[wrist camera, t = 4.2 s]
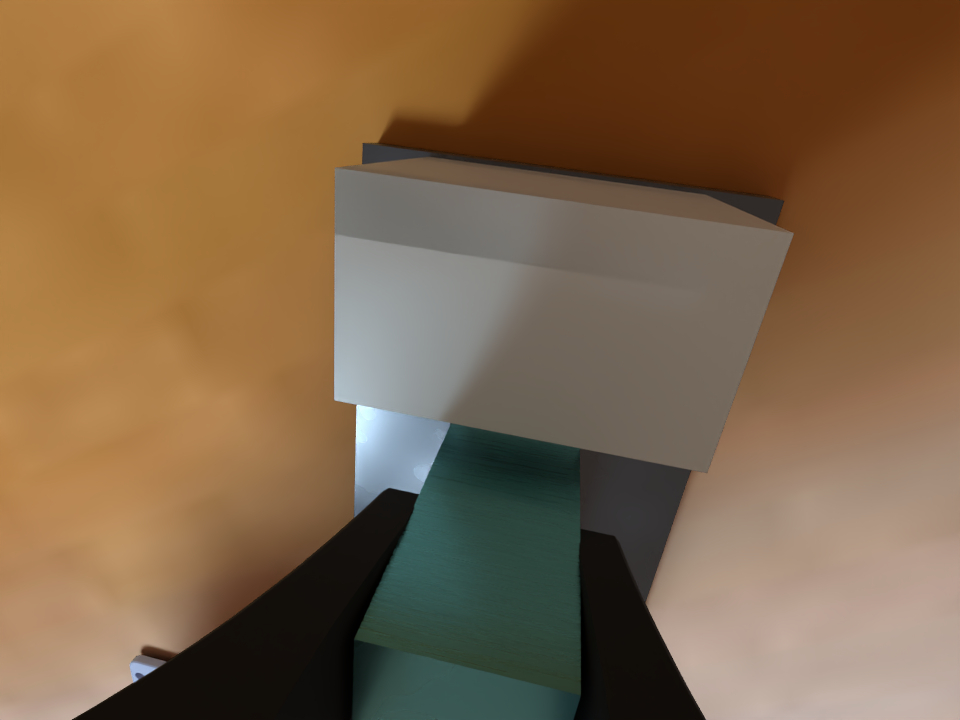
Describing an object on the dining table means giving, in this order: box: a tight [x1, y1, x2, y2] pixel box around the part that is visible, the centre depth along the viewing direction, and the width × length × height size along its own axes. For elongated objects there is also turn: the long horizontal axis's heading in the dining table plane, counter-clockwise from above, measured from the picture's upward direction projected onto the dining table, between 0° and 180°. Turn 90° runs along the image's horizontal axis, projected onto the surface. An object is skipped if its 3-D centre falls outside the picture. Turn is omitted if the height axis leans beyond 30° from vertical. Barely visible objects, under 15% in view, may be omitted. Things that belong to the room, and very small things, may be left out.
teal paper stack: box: [352, 423, 581, 720], centre depth 11 cm, size 16×3×8 cm, turn 173°
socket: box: [334, 157, 794, 473], centre depth 11 cm, size 4×7×5 cm, turn 83°
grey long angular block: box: [354, 143, 784, 602], centre depth 16 cm, size 25×10×6 cm, turn 173°
